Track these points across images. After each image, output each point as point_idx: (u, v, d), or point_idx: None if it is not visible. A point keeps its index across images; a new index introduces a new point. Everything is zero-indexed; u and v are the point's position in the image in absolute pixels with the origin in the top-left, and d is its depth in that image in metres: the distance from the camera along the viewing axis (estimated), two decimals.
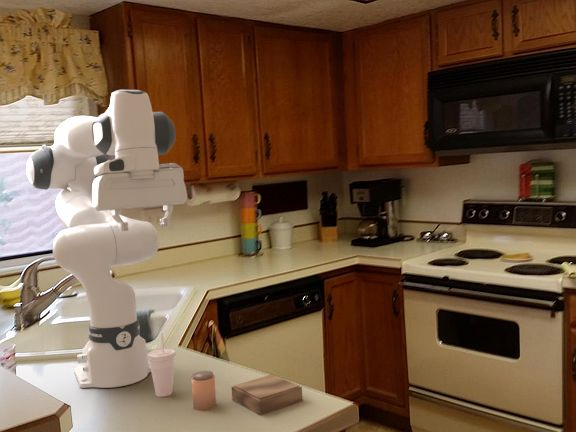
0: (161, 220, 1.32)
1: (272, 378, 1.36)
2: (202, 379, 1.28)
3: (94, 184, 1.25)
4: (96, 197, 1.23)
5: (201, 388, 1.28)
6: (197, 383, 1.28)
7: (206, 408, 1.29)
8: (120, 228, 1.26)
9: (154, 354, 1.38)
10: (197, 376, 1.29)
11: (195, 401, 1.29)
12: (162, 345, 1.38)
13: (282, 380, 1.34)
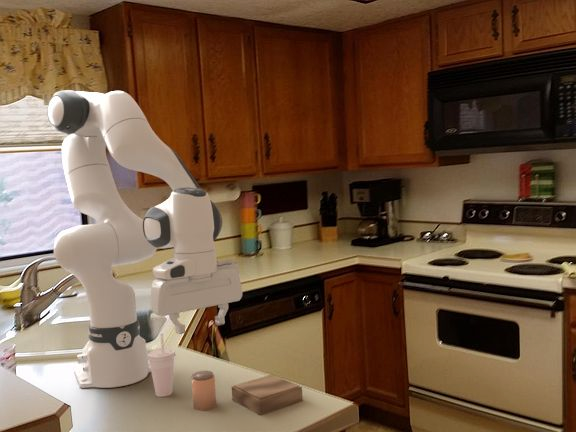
0: (216, 318, 1.32)
1: (272, 378, 1.36)
2: (202, 379, 1.28)
3: (153, 288, 1.24)
4: (156, 303, 1.22)
5: (201, 388, 1.28)
6: (197, 383, 1.28)
7: (206, 408, 1.29)
8: (178, 331, 1.26)
9: (154, 354, 1.38)
10: (197, 376, 1.29)
11: (195, 401, 1.29)
12: (162, 345, 1.38)
13: (282, 380, 1.34)
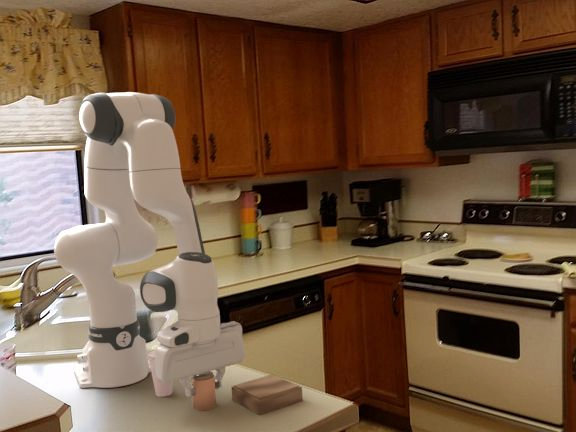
0: None
1: (272, 378, 1.36)
2: (202, 379, 1.28)
3: (158, 354, 1.25)
4: (161, 370, 1.24)
5: (201, 388, 1.28)
6: (197, 383, 1.28)
7: (206, 408, 1.29)
8: (188, 393, 1.28)
9: (154, 354, 1.38)
10: (197, 376, 1.29)
11: (195, 401, 1.29)
12: None
13: (282, 380, 1.34)
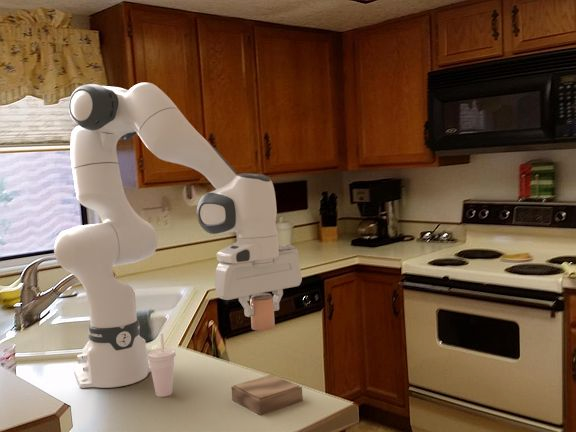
0: None
1: (272, 378, 1.36)
2: (262, 299, 1.28)
3: (218, 272, 1.25)
4: (222, 287, 1.23)
5: (260, 307, 1.28)
6: (256, 303, 1.28)
7: (265, 328, 1.28)
8: (247, 313, 1.28)
9: (154, 354, 1.38)
10: (256, 296, 1.29)
11: (254, 321, 1.29)
12: (162, 345, 1.38)
13: (282, 380, 1.34)
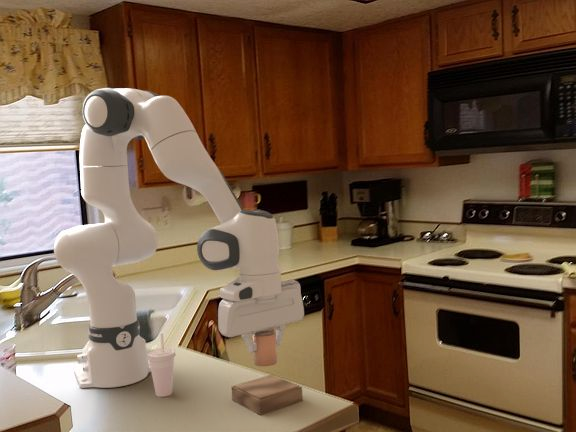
0: None
1: (272, 378, 1.36)
2: (264, 335, 1.29)
3: (221, 309, 1.25)
4: (225, 324, 1.24)
5: (263, 343, 1.29)
6: (259, 339, 1.29)
7: (268, 364, 1.29)
8: (250, 349, 1.29)
9: (154, 354, 1.38)
10: (259, 332, 1.30)
11: (256, 357, 1.29)
12: (162, 345, 1.38)
13: (282, 380, 1.34)
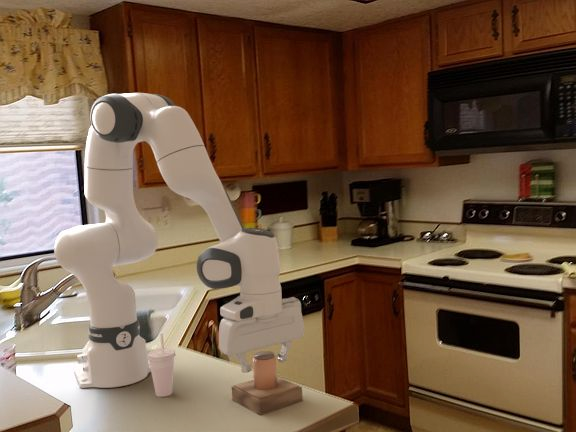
0: (279, 355, 1.34)
1: None
2: (264, 359, 1.29)
3: (222, 328, 1.26)
4: (226, 343, 1.24)
5: (263, 367, 1.29)
6: (259, 363, 1.29)
7: (268, 388, 1.30)
8: (244, 369, 1.28)
9: (154, 354, 1.38)
10: (259, 356, 1.30)
11: (256, 381, 1.30)
12: (162, 345, 1.38)
13: (282, 380, 1.34)
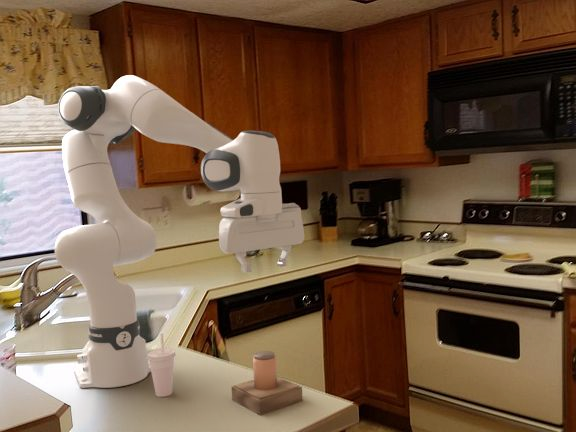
0: (279, 260, 1.35)
1: None
2: (264, 359, 1.29)
3: (222, 227, 1.27)
4: (225, 240, 1.25)
5: (263, 367, 1.29)
6: (259, 362, 1.29)
7: (268, 388, 1.30)
8: (244, 269, 1.29)
9: (154, 354, 1.38)
10: (259, 356, 1.30)
11: (257, 381, 1.30)
12: (162, 345, 1.38)
13: (282, 380, 1.34)
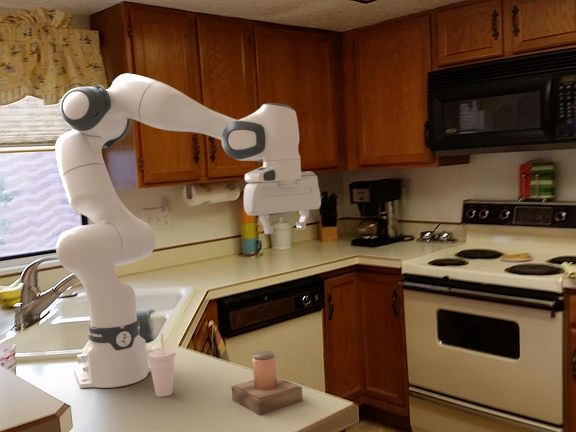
0: (298, 223, 1.46)
1: None
2: (264, 359, 1.29)
3: (247, 191, 1.38)
4: (250, 203, 1.36)
5: (263, 367, 1.29)
6: (258, 363, 1.29)
7: (268, 388, 1.30)
8: (267, 231, 1.40)
9: (154, 354, 1.38)
10: (258, 356, 1.30)
11: (256, 381, 1.30)
12: (162, 345, 1.38)
13: (282, 380, 1.34)
